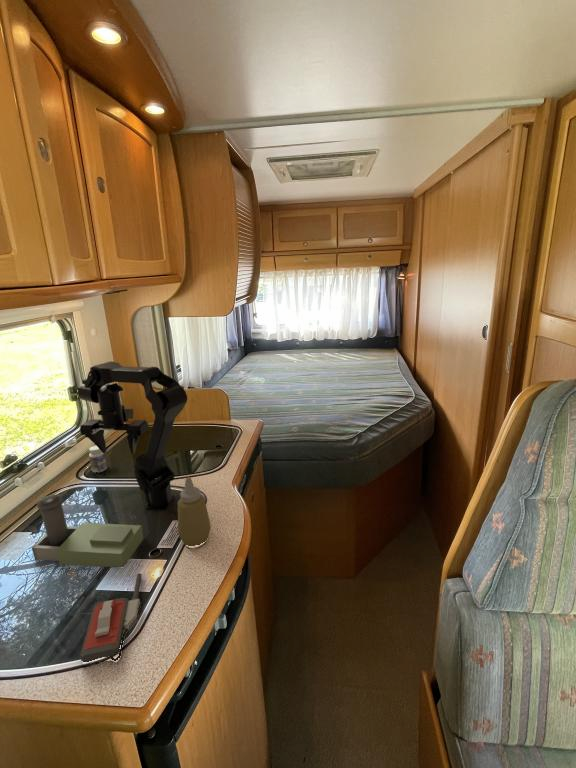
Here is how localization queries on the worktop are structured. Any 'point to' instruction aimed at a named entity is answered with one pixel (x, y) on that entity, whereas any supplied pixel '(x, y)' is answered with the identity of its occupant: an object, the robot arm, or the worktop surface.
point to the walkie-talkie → (109, 626)
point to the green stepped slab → (93, 545)
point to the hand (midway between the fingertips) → (119, 453)
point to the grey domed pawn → (54, 519)
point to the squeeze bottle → (192, 516)
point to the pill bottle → (97, 459)
